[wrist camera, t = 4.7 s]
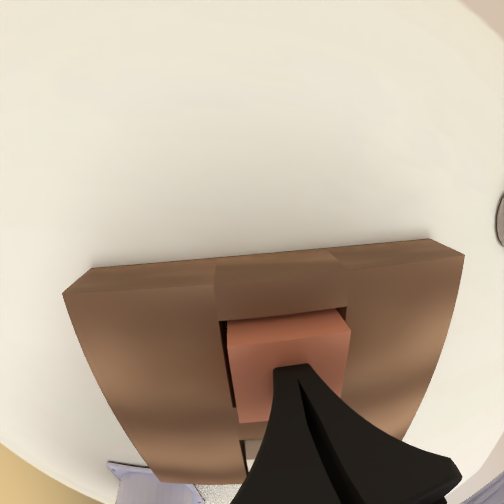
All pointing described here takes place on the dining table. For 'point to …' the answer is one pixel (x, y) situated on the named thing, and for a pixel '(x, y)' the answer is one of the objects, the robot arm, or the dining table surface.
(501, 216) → the rook chess piece
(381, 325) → the key panel
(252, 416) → the terracotta key
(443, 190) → the dining table surface
